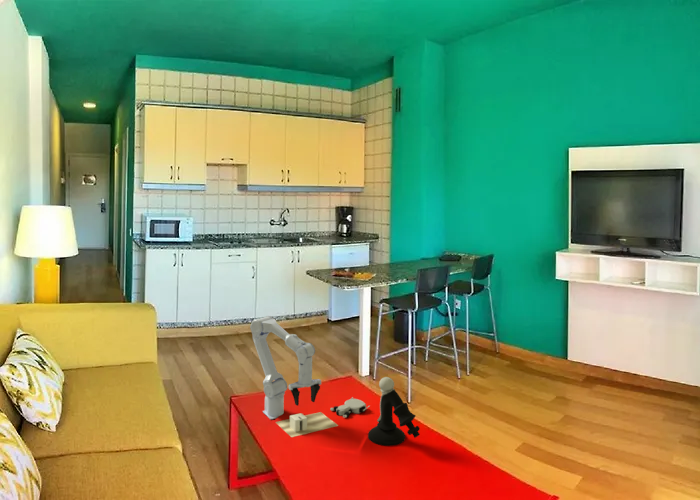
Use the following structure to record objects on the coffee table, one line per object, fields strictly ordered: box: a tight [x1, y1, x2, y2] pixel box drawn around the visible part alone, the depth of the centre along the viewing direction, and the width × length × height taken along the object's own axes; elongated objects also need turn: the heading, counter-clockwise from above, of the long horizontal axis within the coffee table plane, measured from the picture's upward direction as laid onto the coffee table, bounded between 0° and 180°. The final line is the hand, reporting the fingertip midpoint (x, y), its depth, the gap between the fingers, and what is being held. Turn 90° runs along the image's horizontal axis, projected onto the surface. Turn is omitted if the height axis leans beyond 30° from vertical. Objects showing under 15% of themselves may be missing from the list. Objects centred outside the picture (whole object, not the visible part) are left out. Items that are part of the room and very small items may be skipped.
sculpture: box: [367, 376, 420, 447], centre depth 210 cm, size 15×24×25 cm, turn 46°
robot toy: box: [329, 396, 371, 419], centre depth 237 cm, size 12×4×15 cm
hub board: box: [275, 411, 339, 438], centre depth 223 cm, size 16×22×4 cm
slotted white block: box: [289, 413, 307, 432], centre depth 218 cm, size 5×5×5 cm
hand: (304, 403), depth 224 cm, fingers open, 7 cm apart
